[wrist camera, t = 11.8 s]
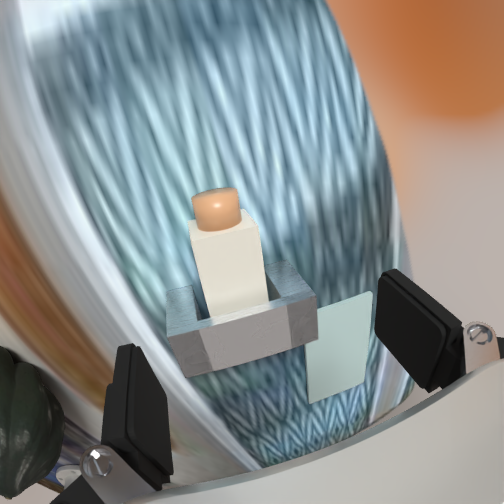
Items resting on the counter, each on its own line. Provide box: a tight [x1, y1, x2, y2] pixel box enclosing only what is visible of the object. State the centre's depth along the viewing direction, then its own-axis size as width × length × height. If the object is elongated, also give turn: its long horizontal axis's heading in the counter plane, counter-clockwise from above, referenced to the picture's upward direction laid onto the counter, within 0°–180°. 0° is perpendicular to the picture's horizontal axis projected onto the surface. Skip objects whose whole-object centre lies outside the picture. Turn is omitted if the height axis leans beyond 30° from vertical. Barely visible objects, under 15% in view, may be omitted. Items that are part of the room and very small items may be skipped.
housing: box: [166, 259, 319, 378], centre depth 23 cm, size 4×10×6 cm, turn 100°
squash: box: [0, 346, 65, 499], centre depth 18 cm, size 14×15×15 cm
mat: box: [304, 291, 373, 404], centre depth 31 cm, size 14×8×1 cm, turn 10°
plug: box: [188, 188, 269, 318], centre depth 22 cm, size 12×4×4 cm, turn 9°
